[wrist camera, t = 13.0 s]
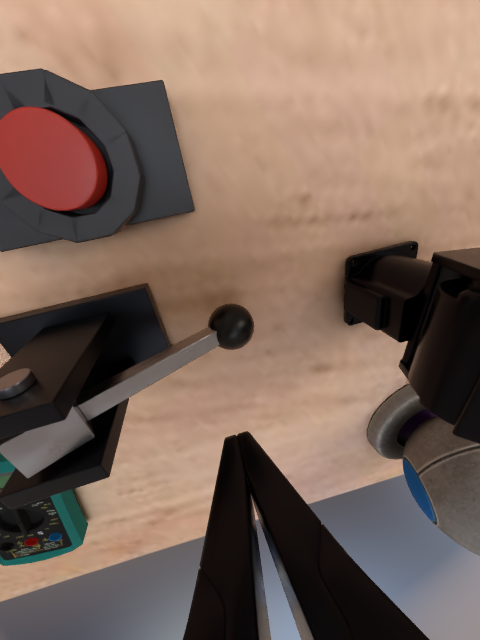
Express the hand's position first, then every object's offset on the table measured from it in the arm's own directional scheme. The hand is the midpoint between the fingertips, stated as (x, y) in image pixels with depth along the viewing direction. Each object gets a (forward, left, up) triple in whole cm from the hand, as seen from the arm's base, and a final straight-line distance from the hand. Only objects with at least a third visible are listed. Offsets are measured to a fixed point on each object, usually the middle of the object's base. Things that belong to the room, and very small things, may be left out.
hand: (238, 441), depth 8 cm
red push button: (+5, -10, -9) cm, 14 cm away
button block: (+5, -10, -12) cm, 17 cm away
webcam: (-22, +23, -13) cm, 35 cm away
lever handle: (+4, +1, -8) cm, 9 cm away
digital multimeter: (+21, +14, -13) cm, 28 cm away
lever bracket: (+9, +1, -12) cm, 15 cm away
